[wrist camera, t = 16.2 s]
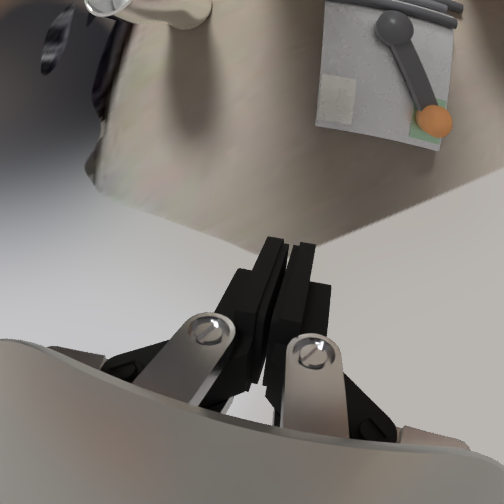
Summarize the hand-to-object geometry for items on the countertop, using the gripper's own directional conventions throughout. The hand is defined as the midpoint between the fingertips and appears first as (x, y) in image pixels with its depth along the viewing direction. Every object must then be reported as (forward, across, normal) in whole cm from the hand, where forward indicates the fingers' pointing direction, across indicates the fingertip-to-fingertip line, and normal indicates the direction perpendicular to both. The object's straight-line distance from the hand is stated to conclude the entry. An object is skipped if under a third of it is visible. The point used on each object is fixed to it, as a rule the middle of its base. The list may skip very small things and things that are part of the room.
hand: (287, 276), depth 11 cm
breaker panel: (+27, -6, -10) cm, 30 cm away
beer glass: (+27, +17, -16) cm, 36 cm away
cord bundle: (+27, -6, -18) cm, 33 cm away
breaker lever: (+25, -8, -10) cm, 28 cm away
